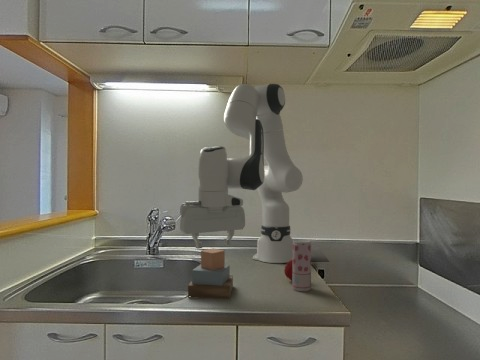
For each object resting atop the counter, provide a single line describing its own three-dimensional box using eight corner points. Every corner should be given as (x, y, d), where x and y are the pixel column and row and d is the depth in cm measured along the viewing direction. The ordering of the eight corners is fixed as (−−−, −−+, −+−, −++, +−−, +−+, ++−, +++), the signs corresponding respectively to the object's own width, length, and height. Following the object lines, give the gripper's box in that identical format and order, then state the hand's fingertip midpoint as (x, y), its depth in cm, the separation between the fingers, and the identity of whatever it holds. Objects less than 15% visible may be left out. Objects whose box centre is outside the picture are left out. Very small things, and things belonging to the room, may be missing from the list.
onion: (288, 284, 127) (288, 259, 127) (281, 279, 132) (281, 256, 132) (304, 283, 128) (305, 258, 128) (297, 278, 134) (297, 255, 134)
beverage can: (288, 287, 124) (289, 239, 123) (304, 285, 126) (304, 238, 126) (298, 292, 118) (299, 243, 118) (314, 290, 121) (315, 241, 120)
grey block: (201, 275, 124) (201, 263, 124) (229, 277, 122) (229, 264, 122) (192, 283, 115) (192, 270, 115) (221, 285, 113) (221, 272, 113)
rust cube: (213, 264, 122) (213, 248, 122) (224, 267, 119) (224, 250, 118) (201, 267, 118) (200, 250, 118) (212, 270, 115) (212, 253, 115)
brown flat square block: (195, 287, 125) (195, 274, 125) (232, 288, 125) (232, 275, 125) (188, 299, 113) (188, 285, 113) (229, 300, 113) (229, 286, 113)
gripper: (184, 202, 110) (184, 252, 110) (247, 199, 120) (247, 245, 120) (176, 201, 115) (176, 248, 115) (237, 198, 125) (237, 241, 125)
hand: (213, 246), depth 118 cm, fingers open, 8 cm apart
